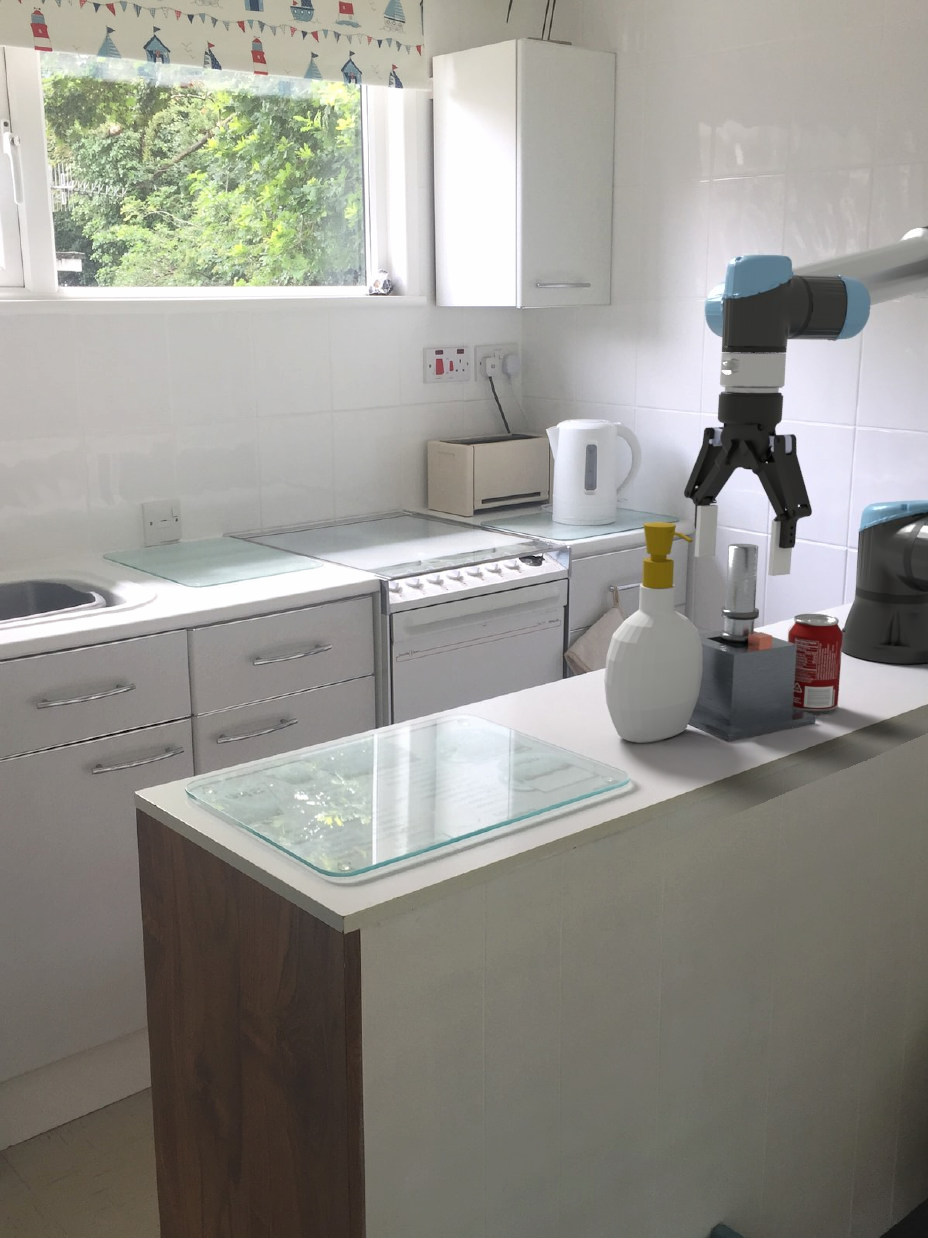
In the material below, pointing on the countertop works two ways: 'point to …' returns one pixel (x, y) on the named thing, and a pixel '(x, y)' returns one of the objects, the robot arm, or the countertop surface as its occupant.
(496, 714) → the countertop surface
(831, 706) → the soda can
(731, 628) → the column
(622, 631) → the soap bottle
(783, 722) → the sleeve
